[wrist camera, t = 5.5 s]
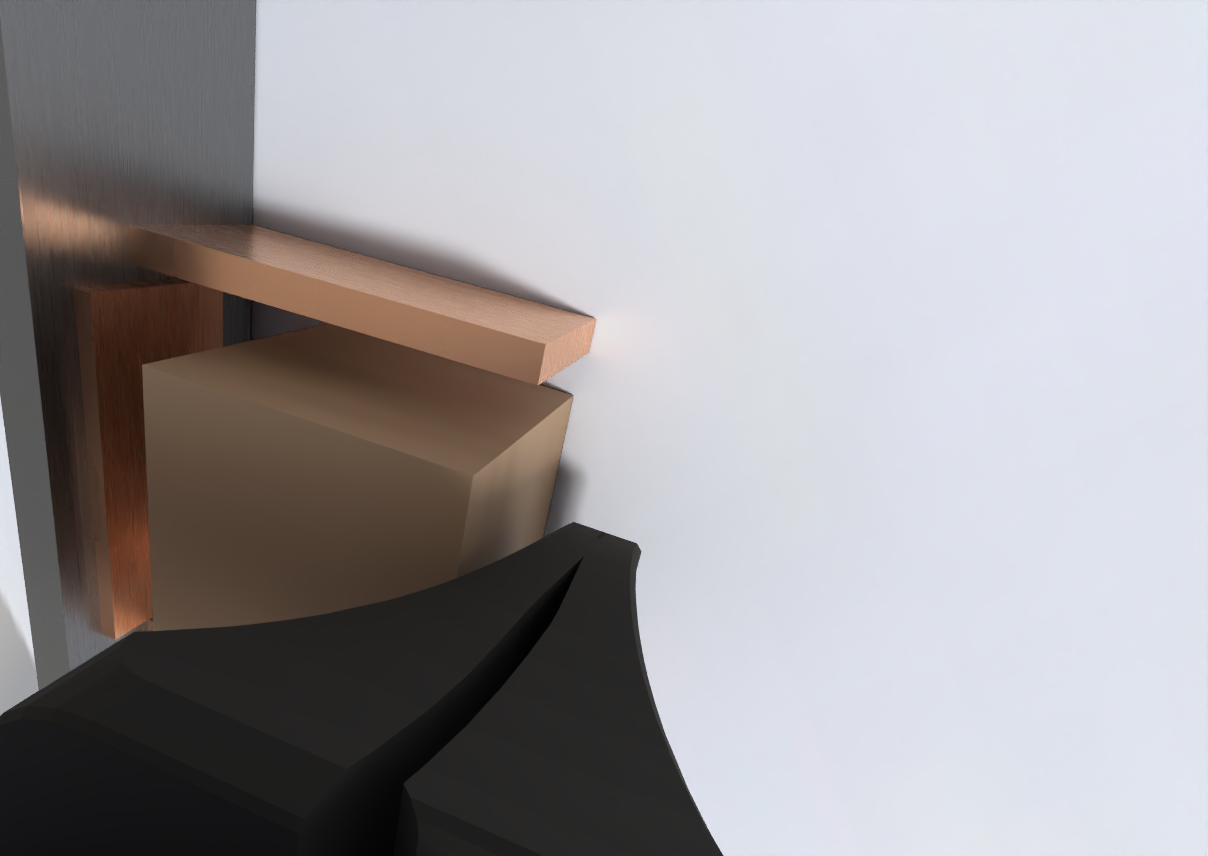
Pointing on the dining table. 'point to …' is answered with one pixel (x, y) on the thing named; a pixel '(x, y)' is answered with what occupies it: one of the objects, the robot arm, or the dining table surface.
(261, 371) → the walnut block
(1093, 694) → the dining table surface
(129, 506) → the rack
